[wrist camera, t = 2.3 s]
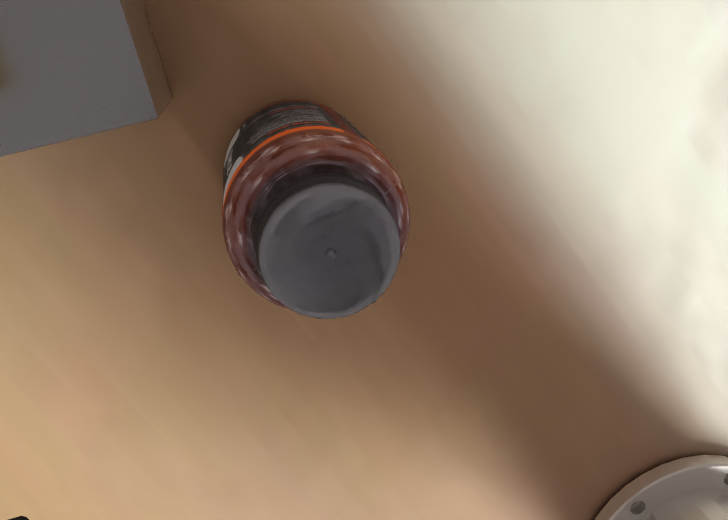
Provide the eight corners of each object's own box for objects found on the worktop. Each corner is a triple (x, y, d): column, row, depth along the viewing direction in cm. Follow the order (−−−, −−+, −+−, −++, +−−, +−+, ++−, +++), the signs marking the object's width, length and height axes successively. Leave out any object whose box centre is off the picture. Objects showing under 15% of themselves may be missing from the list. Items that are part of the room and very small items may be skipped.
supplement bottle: (192, 162, 29) (169, 245, 18) (301, 66, 28) (343, 94, 18) (288, 263, 31) (317, 389, 20) (391, 175, 30) (476, 258, 20)
